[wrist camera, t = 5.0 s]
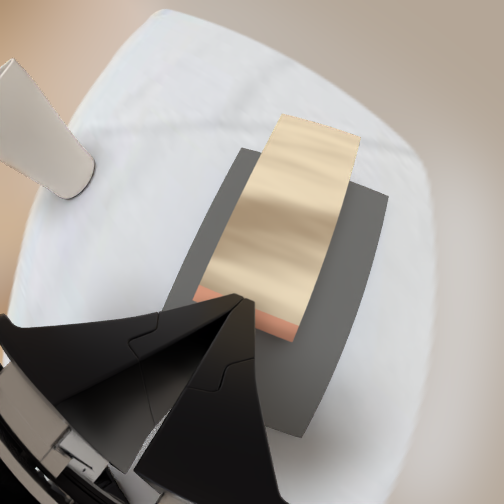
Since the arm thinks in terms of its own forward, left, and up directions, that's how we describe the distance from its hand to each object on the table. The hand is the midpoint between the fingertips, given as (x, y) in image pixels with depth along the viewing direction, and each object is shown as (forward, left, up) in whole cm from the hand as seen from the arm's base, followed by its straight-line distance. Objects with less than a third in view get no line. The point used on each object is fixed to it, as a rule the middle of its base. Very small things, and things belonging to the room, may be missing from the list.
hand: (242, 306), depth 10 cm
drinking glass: (-12, +19, -8) cm, 24 cm away
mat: (+1, +2, -8) cm, 8 cm away
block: (-1, 0, -5) cm, 5 cm away
